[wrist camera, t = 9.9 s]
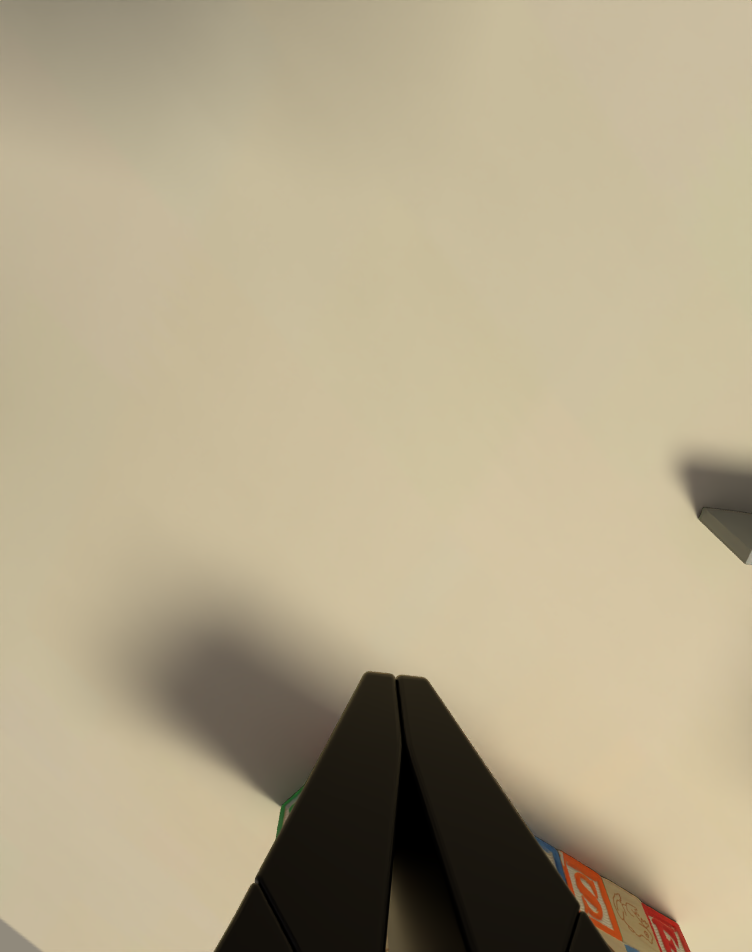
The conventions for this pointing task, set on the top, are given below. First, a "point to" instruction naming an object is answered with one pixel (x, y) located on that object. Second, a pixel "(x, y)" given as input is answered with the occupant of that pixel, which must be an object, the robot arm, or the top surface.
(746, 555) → the box
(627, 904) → the stack of blocks
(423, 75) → the top surface
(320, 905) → the robot arm
